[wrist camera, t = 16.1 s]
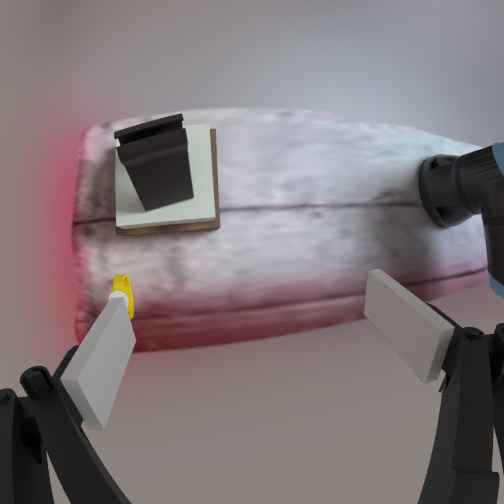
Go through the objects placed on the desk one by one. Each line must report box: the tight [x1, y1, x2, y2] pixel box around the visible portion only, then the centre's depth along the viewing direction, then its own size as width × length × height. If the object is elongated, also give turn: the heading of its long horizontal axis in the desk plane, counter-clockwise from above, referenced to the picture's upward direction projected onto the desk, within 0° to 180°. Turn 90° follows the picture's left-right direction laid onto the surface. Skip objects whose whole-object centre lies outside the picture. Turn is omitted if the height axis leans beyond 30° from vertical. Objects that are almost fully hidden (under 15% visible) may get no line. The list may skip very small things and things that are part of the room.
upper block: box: [115, 125, 216, 229], centre depth 35 cm, size 12×12×4 cm
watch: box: [109, 274, 134, 319], centre depth 36 cm, size 6×3×6 cm, turn 7°
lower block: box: [116, 129, 220, 236], centre depth 39 cm, size 14×14×4 cm
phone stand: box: [114, 114, 194, 211], centre depth 27 cm, size 9×6×12 cm, turn 15°
